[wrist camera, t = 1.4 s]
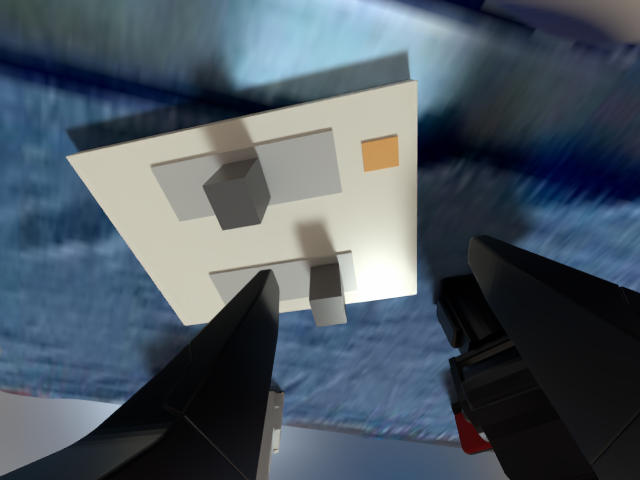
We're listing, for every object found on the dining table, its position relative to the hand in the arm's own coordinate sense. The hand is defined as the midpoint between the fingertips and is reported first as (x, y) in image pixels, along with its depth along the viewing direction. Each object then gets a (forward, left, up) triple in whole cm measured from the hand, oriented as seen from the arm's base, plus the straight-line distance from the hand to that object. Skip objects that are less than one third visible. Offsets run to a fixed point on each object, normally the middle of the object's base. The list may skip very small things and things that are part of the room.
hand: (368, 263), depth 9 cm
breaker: (+3, +10, -11) cm, 15 cm away
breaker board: (+7, +5, -13) cm, 16 cm away
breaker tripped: (+7, 0, -11) cm, 13 cm away
